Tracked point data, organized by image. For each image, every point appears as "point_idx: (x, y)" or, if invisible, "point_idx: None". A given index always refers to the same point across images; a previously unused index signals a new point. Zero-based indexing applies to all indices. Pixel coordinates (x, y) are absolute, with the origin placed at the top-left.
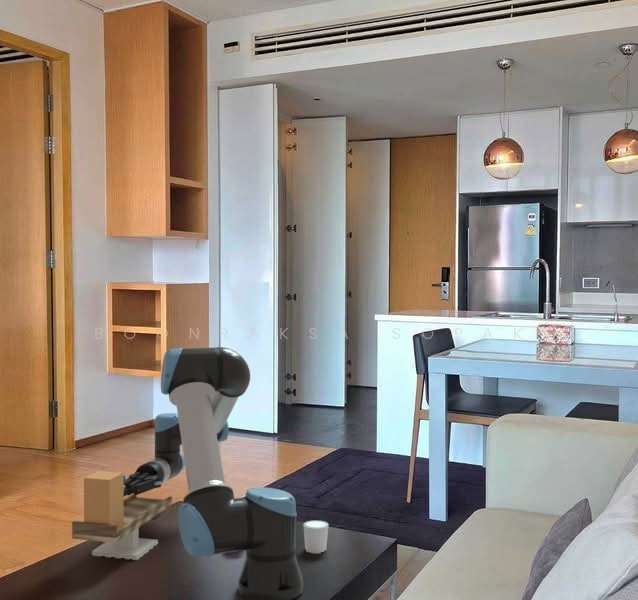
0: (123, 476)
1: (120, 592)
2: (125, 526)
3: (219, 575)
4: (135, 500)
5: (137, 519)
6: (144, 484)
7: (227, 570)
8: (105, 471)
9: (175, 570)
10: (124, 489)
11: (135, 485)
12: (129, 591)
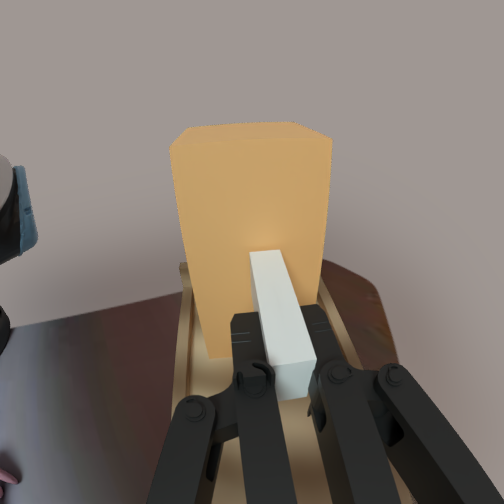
0: (172, 168)
1: (159, 301)
2: (183, 328)
3: (22, 380)
4: None
5: (173, 394)
6: (154, 487)
7: (11, 399)
8: (290, 138)
9: (89, 393)
10: (252, 347)
11: (193, 401)
12: (147, 307)
